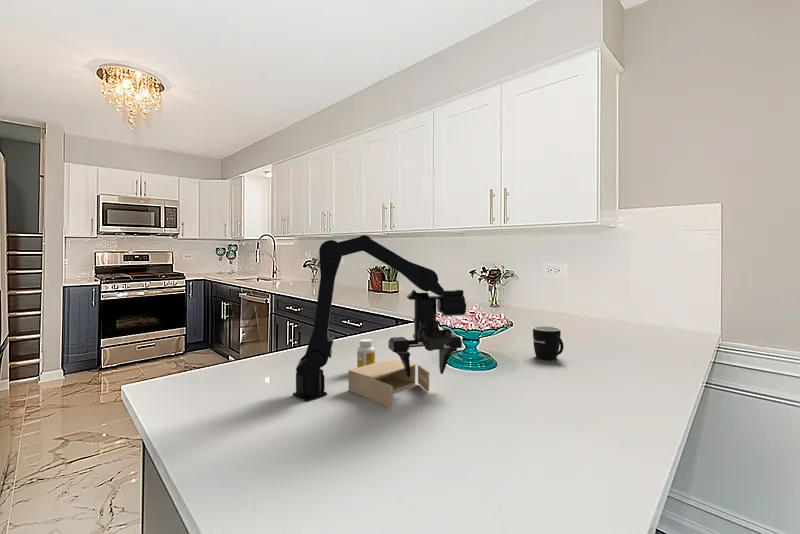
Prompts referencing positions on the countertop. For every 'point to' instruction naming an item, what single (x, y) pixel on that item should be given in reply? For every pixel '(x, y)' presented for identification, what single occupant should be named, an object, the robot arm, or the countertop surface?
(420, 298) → the robot arm
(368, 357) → the supplement bottle
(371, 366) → the carton
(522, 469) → the countertop surface
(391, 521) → the countertop surface
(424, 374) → the right flap
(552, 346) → the mug
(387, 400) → the left flap
